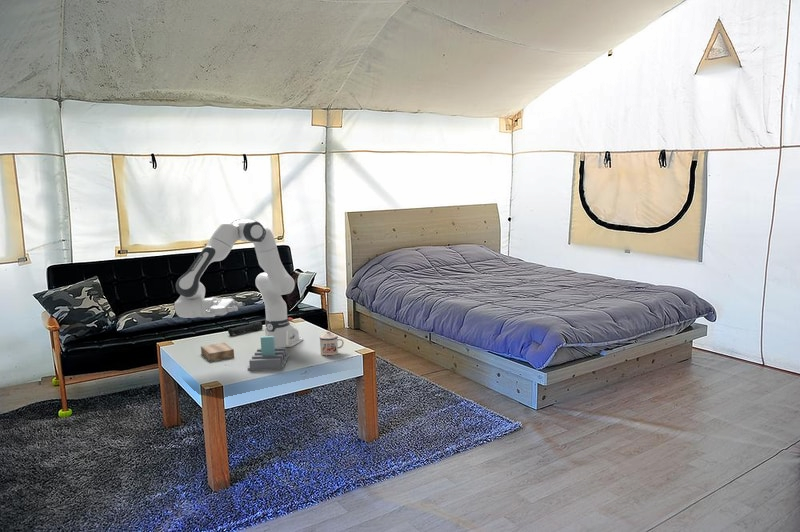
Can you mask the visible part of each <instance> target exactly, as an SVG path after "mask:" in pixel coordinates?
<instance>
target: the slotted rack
mask: <svg viewBox="0 0 800 532" xmlns="http://www.w3.org/2000/svg"><path fill="white" fill-rule="evenodd" d="M288 356H289V353H288V354H287V347H283V348H275V355H262V354H261V348H257V349H256V351H255V352H254V355H252V356H251V359H249V362H248V363H249V365H248V367H247V371H248V370H249V371H271V370H270V369H277V370H283V369H284V367H285V365H286V363H287V361H288V359H289V357H288ZM287 358H288V359H287ZM286 360H287V361H286ZM285 362H286V363H285ZM284 364H285V365H284ZM283 366H284V367H283Z"/></svg>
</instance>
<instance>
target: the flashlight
mask: <svg viewBox="0 0 800 532" xmlns="http://www.w3.org/2000/svg"><path fill="white" fill-rule="evenodd" d="M263 325H264V324H263V323H262V321H255V322H252V323H250V324H246V325H239V326H235V327H233V328H232V327H231V328H228V330H227V332H228V335H229V336H230V337H231V336H234V335H239V334H243V333H248V332H255V331H261V330H262V329H263Z"/></svg>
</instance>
